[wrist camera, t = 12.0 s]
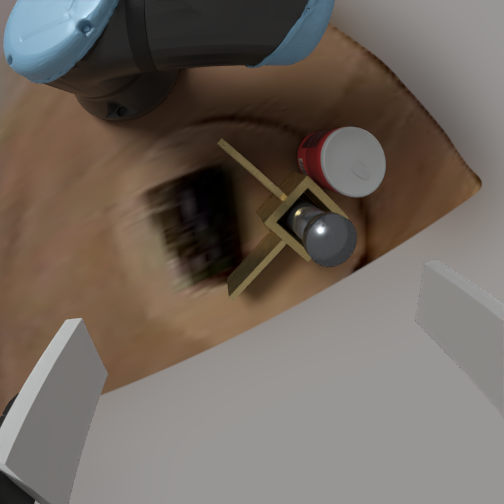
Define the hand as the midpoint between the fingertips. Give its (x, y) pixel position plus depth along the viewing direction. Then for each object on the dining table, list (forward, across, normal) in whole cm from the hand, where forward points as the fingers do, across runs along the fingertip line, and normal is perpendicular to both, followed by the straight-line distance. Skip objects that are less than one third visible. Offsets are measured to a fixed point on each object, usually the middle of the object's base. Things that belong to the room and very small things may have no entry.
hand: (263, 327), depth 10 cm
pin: (+32, +8, -4) cm, 33 cm away
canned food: (+32, +14, +3) cm, 35 cm away
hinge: (+32, +2, -3) cm, 32 cm away
